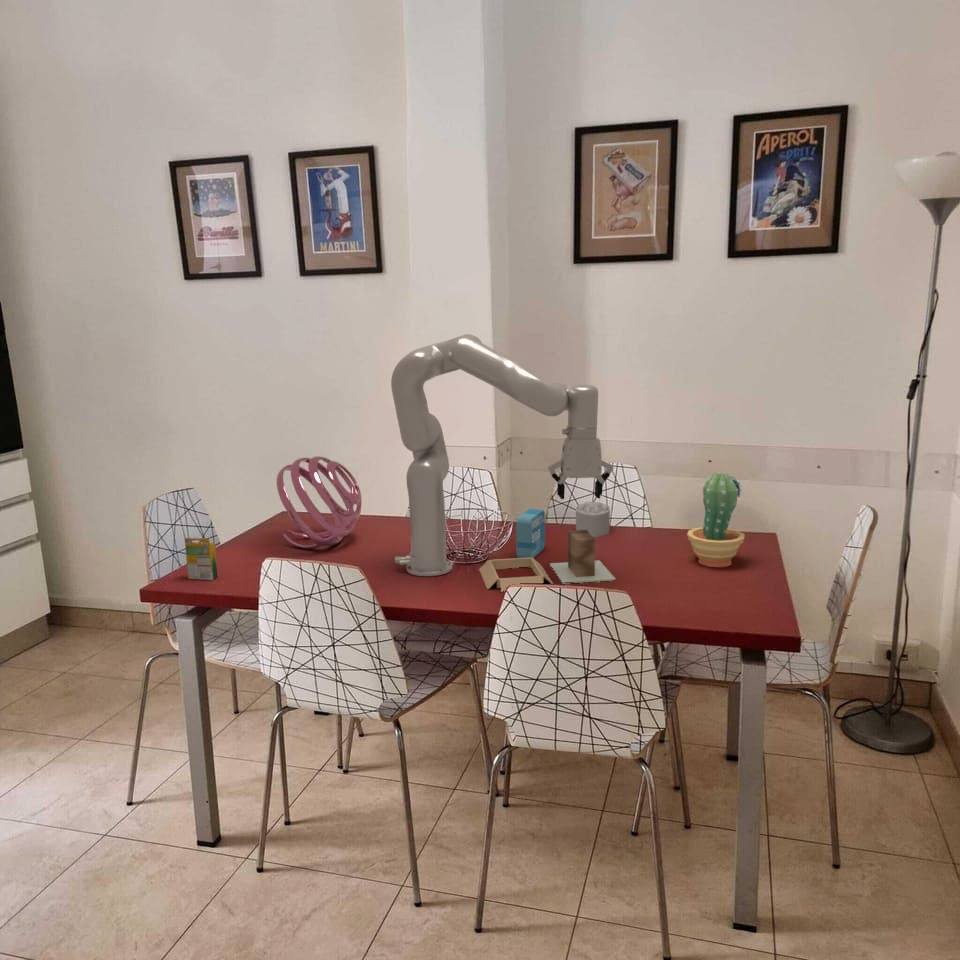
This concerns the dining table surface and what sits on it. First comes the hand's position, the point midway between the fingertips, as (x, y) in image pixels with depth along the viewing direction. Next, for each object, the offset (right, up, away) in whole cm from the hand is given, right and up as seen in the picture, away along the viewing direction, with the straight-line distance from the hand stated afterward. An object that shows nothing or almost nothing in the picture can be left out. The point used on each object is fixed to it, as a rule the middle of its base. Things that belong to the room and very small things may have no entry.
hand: (579, 497), depth 232 cm
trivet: (+1, -20, +5) cm, 21 cm away
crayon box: (-101, -22, +7) cm, 104 cm away
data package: (-11, -17, +23) cm, 30 cm away
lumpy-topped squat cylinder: (+9, -12, +44) cm, 46 cm away
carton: (-17, -21, +2) cm, 27 cm away
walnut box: (+1, -20, +4) cm, 20 cm away
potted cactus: (+39, -18, +11) cm, 44 cm away
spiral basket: (-74, -15, +36) cm, 84 cm away
